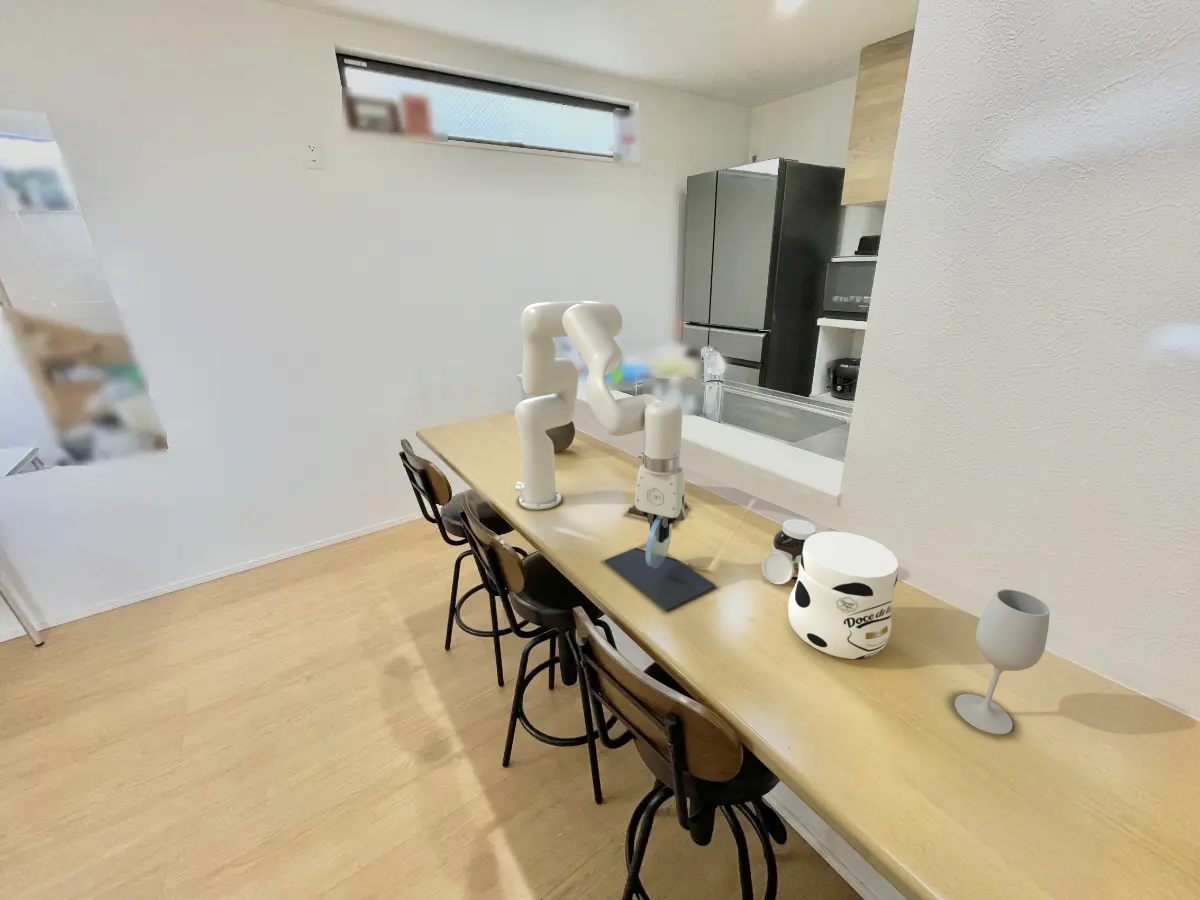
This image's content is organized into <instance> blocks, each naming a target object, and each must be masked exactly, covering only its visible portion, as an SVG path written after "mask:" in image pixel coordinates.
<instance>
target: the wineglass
mask: <svg viewBox="0 0 1200 900" xmlns="http://www.w3.org/2000/svg"><path fill="white" fill-rule="evenodd" d="M1050 615H1051V614H1050V608H1049V606H1048V605H1047V604H1046V603H1045V602H1044V601H1042V600H1041V599H1040V598H1038V597H1036V596H1034V595H1032V594H1029V593H1027V592H1025V591H1021V590H1016V589H1009V588H1003V589H1002V588H1001V589H998V590H997V591H996V592H995V593H994V594H993V596H992V598H991V599H990V600H989V602H988V603H987V605H986V606H985V609H984V611H983V613H982V614H981V616H980V618H979V621H978V623H977V627H976V629H975V636H974V637H975V642H976V646H977V647H978V649H979V651H980V653H981V654H982V656H984V658H985V659H986V660H987V661H988V662H989V663H990V664H991V665H992V666H993V674H992V677H991V679H990V682H989V686H988V688H987V691H986V694H985V696H984V697H983V696H981V695H977V694H971V693H963V694H959V695H958V696H957V697H956V698H955V700H954V707H955V709H956V712H957V713H958V714H959V715H960V717H961V718H962V719H964V721H966V722H967V723H969V724H970V725H971V726H973V727H975V728H976V729H978V730H980V731H983V732H986V733H989V734H992V735H999V736H1000V735H1001V736H1002V735H1007V734H1009V733H1010V732H1011V731H1012V730H1013V720H1012V719H1011V717H1010V716H1009V714H1008V713H1007V712H1006V711H1005V710H1004V709H1003V707H1001V706H1000V705H998V704H996V703H995V702H994V701H992V699H993V695H994V693H995V690H996V688H997V684H998V682H999V680H1000V679H999V678H1000V677H1001V674H1002V673H1003V672H1005V671H1008V672H1011V671H1012V672H1018V671H1024V670H1028V669H1031V668H1032V667H1033V666H1035V665H1037V663H1038V662H1039V661H1040V660H1041V658H1042V657H1043V655H1044V653H1045V649H1046V644H1047V641H1048V640H1047V639H1048V633H1049V626H1050Z"/></svg>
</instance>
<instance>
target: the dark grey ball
mask: <svg viewBox="0 0 1200 900" xmlns="http://www.w3.org/2000/svg"><path fill="white" fill-rule="evenodd" d="M546 434H547V435H548V436H549V437H550V439H551V440H552V442H553V445H554V453H560V452H562V451H565V450H566V449H568V448H569V447H570V446H571V445H572V443H573V442H574V439H575V435H576V427H575V424H574V422H573V420H572V421H571V422H570V423H568V424H566V425H563V426H559V427H555V428H551V429H548V430H546Z"/></svg>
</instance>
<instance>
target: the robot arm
mask: <svg viewBox="0 0 1200 900" xmlns="http://www.w3.org/2000/svg"><path fill="white" fill-rule="evenodd" d="M519 326H520V332H521V337H522V343H523V351H522V368H521V369H522V371H521V372H522V373H521V378H522V379H521V384H522V385H521V386H522V390H523V391H524V392H525V394H527V395H528V396H530V397H531V398H527V399H524V400H522V401H520V402H519V403H518V404H517V405H516V407H515V409H514V420H515V424H516V428H517V431H518V436H519V447H520V457H521V470H522V472H521V473H522V481H519V480H518V481H517V482H516V483H515V486H514V491H517V492H520V496H519V498H518V502H519V504H520V505H521V506H522V507H524V508H525V509H529V510H536V511H538V510H547V509H551V508H554V507H556V506H558V505H559V504H560V503H561V502H562V494H561V493H560V492H559V491H557V488H556V487H557V486H556V485H557V484H556V467H555V465H556V464H555V463H556V462H555V452H554V445H553V442H552V440H551V439H550V437H549V436H548V435H547V434H546V430H548V429H551V428H555V427H559V426H563V425H566V424H568V423H570V422H571V421H572V422H573V419H574V417H575V413H576V405H577V404H576V403H577V397H578V388H579V387H578V386H579V374H578V369H577V366H576V365H575V364H574V362H573V361H572V360H571V359H569V358H567V357H556V353H557V347H556V343H555V341H554V338H565V337H568V339H569V341H570V342H571V344H572V346H573V347H574V348H575V350H576V352H577V354H578V355H579V357H580V359H581V360H582V362H583V364H584V365H585V367H586V369H587V370H588V374H587V378H586V384H585V385H586V386H585V388H586V389H585V390H586V391H585V392H586V398H587V399H586V400H587V403H588V406H589V408H590V410H591V412H592V413H593V415H594V417H595V419H596V420H597V422H598V424H599V425H600V426H601V428H602V429H603V430H604V432H606V433H607V434H608V435H610V436H613V437H622V436H626V435H630V434H632V433H633V434H634V433H637V432H642V431H643V434H644V435H643V452H638V455H637V458H638V459H640V460H642V464H641V465H639V467H638V473H637V478H636V484H635V494H634V495H635V496H634V505H635V509H636V510H638V511H640V512H641V513H643V514H644V515H645V517H644V518H646V519H647V523H648V524H649V530H650V529H651V527H652V524H653V522H654V521H655V519H656V518H657V517H658V515H660V516H663V519H662V525H661V526H660V531H659V542H660V543H663V542H664V541H665V539H667V538H668V537H669V526H670V524H671V523H673V522H674V521H675V522H683V521H685V520H686V519H687V512H686V510H685V509H684V508H685V502H686V482H685V475H684V470H683V468H682V467H681V451H682V431H683V430H682V429H683V427H682V426H683V409H682V407H681V406H680V405H679V404H677V403H675V402H672V401H664V400H663V399H661V398H659V397H658V396H655V395H653V394H652V393H651V394H650V393H642V394H638V395H631V396H627V397H622V398H618V399H615V397H614V395H613V394H612V393H611V391H610V389H609V387H608V385H607V382H606V376H608V375H609V374H610V373H612V372H613V371H614V370H615V369H616V368H617V367H618V365H620V363H621V361H622V358H623V351H622V349H621V348H620V346H619V344H617V343H618V342H617V341H616V340H615V337H617V336H618V335H619V334H620V333H621V331H622V328H623V317H622V314H621V312H620V311H619V309H618V308H617V306H615V304H613V303H611V302H607V301H590V300H569V301H548V302H538V303H533V304H530V305H528V306H526V307H525V308H524V309H523V311H522V313H521V315H520V323H519Z"/></svg>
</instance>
